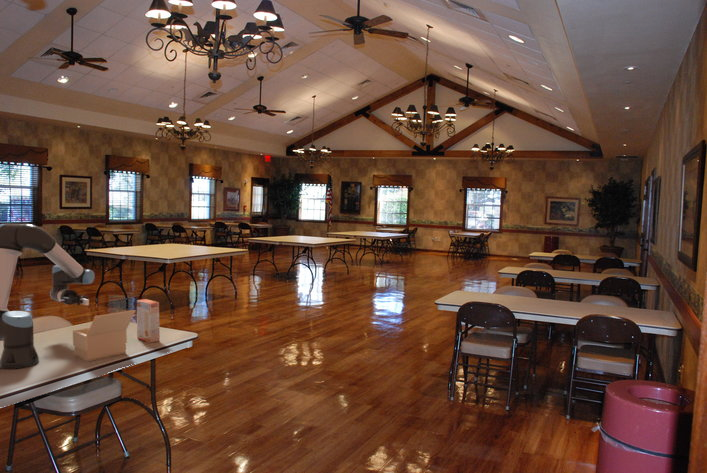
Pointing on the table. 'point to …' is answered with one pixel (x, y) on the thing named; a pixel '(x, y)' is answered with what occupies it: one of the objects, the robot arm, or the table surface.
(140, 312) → the cracker box
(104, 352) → the carton
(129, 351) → the table surface
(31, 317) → the robot arm
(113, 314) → the flap
